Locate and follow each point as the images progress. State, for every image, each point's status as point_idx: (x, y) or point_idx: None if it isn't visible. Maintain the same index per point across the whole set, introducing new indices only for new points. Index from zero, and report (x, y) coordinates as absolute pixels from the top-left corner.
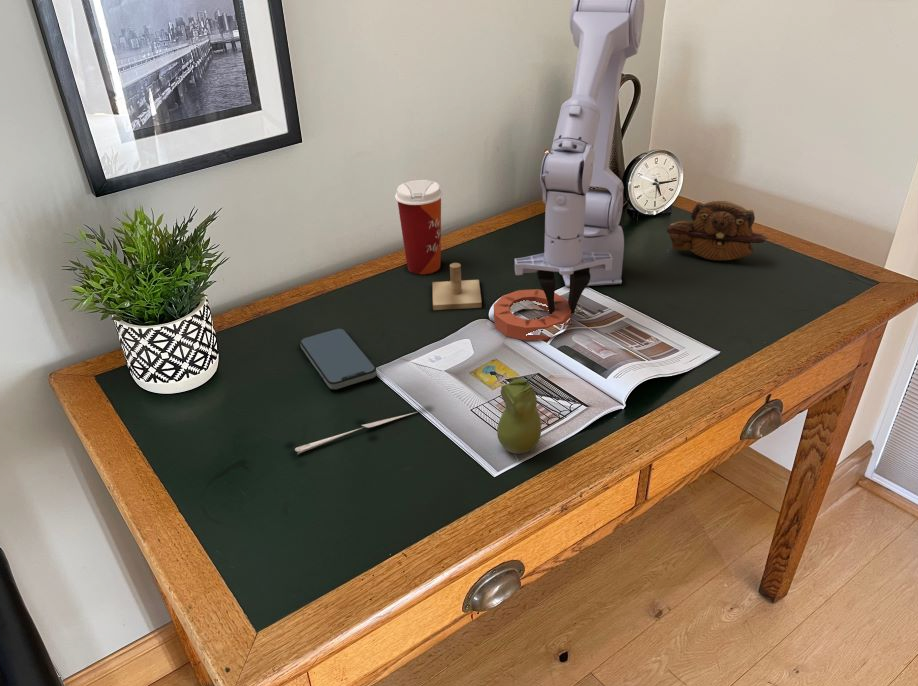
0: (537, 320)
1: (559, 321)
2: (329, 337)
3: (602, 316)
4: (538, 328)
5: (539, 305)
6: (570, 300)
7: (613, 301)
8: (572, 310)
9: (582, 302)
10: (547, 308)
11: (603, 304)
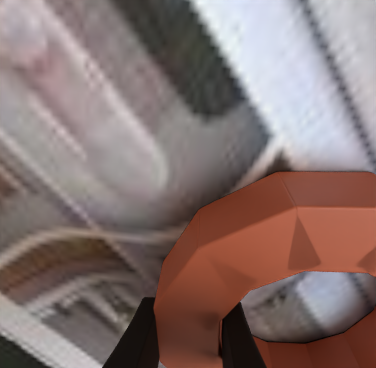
0: (325, 260)
1: (218, 241)
2: None
3: (54, 286)
4: (338, 202)
5: None
6: (149, 360)
7: (27, 344)
8: (147, 310)
9: None
10: None
11: (55, 336)
